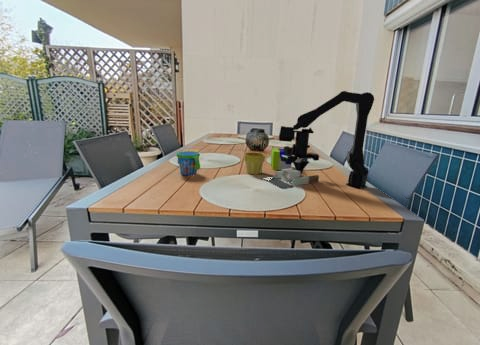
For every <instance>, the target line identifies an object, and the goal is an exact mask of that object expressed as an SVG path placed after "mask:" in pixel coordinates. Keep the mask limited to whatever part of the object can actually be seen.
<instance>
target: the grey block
mask: <svg viewBox="0 0 480 345" xmlns="http://www.w3.org/2000/svg"><path fill="white" fill-rule="evenodd" d="M281 171H282V174H281V178H280V180H281V179H282V180H281V181H283V180H284V181H283V182H285V181H286V182H285V183H288V182H289V183H288V184H291V183H290V182H292V178H299V177H301V174H300V172H301V171H298V170H296V169H295V168H292V167H291V168H290V169H282V170H281Z"/></svg>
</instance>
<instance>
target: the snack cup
mask: <svg viewBox="0 0 480 345" xmlns="http://www.w3.org/2000/svg"><path fill="white" fill-rule="evenodd" d="M200 155H201V154H200V152H197V151H190V150H187V151H186V150H185V151H179V152H177V153H176V158H177V165H179V169H180V170H179V171H180V174H182V175H184V176H193V175H196V174H197V173H198V172H197V171H199V170H200V168H201V163H200Z"/></svg>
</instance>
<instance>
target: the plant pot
mask: <svg viewBox="0 0 480 345" xmlns="http://www.w3.org/2000/svg"><path fill="white" fill-rule="evenodd" d="M243 156H244V157H243V158H244V162H245V166H246V173H247V174H249V175H259V174H260V173H261V172H262V167H263V164H264V162H265V160H266V159H265V158H266V155H265V153H263V152H256V151H250V152H249V151H248V152H245V153H244V155H243Z"/></svg>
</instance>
